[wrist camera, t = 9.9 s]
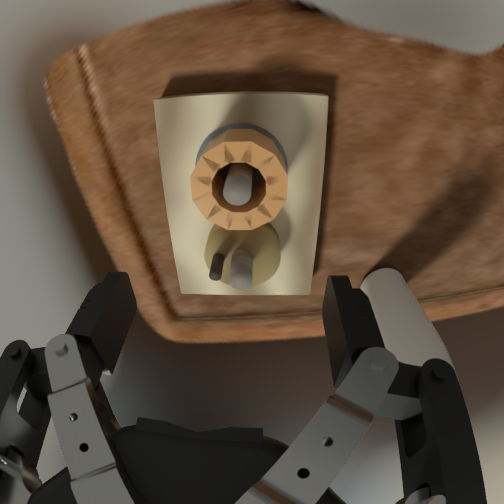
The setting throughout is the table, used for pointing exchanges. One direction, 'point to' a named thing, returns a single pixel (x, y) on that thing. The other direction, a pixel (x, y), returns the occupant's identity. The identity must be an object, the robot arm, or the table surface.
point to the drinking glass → (402, 319)
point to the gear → (262, 195)
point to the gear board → (300, 189)
